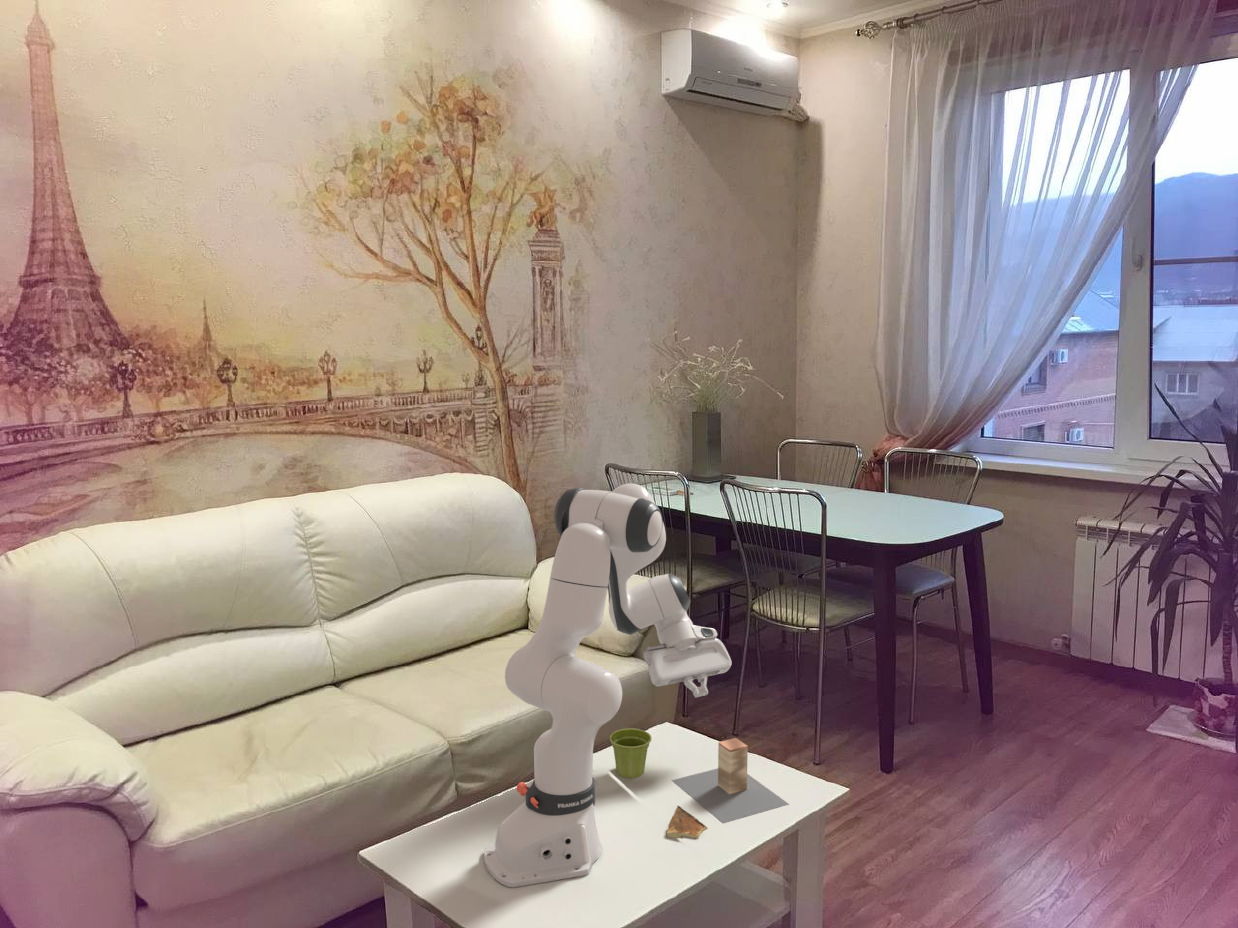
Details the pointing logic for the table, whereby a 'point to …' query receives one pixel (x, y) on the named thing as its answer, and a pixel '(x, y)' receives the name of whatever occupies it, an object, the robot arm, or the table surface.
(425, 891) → the table surface
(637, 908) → the table surface
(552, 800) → the robot arm
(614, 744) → the plant pot
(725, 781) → the birch block
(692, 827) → the shard
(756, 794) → the rubber mat
